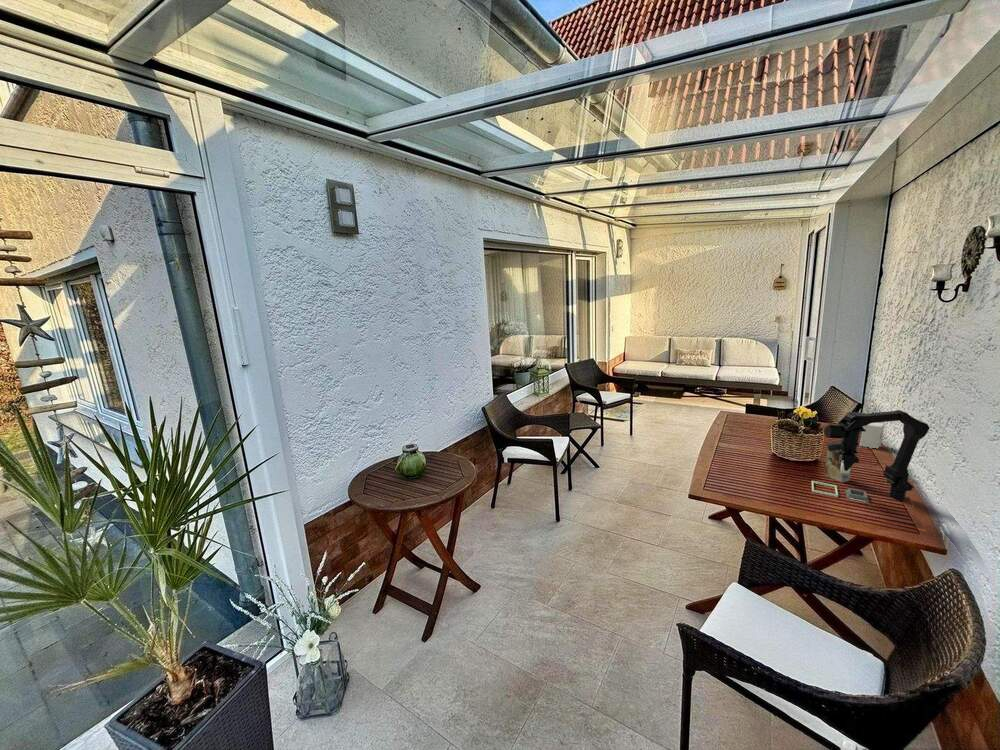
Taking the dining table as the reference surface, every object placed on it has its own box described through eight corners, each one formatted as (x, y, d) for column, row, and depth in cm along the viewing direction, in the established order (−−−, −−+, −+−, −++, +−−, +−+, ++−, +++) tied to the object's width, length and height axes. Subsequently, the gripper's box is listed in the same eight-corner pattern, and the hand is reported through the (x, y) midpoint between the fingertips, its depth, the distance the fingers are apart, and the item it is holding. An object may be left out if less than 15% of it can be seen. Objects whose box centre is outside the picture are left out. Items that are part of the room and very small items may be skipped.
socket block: (845, 491, 206) (845, 486, 206) (866, 495, 202) (867, 490, 201) (846, 499, 198) (847, 494, 198) (868, 504, 194) (869, 499, 193)
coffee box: (850, 481, 216) (854, 452, 212) (842, 483, 214) (846, 455, 210) (831, 474, 224) (835, 446, 221) (823, 476, 222) (827, 448, 219)
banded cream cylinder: (838, 471, 204) (841, 454, 202) (848, 473, 201) (851, 456, 199) (839, 474, 200) (842, 457, 199) (849, 476, 198) (852, 459, 196)
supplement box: (878, 450, 253) (882, 427, 250) (859, 446, 260) (862, 423, 257) (881, 446, 258) (885, 423, 255) (862, 442, 265) (866, 420, 262)
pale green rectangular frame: (811, 483, 215) (811, 480, 215) (835, 488, 209) (836, 485, 209) (812, 493, 205) (812, 490, 205) (837, 498, 200) (838, 495, 199)
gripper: (827, 430, 209) (823, 458, 212) (830, 441, 194) (825, 472, 197) (856, 434, 203) (851, 463, 206) (861, 446, 188) (855, 478, 191)
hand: (845, 469), depth 200 cm, fingers closed on banded cream cylinder, 4 cm apart
